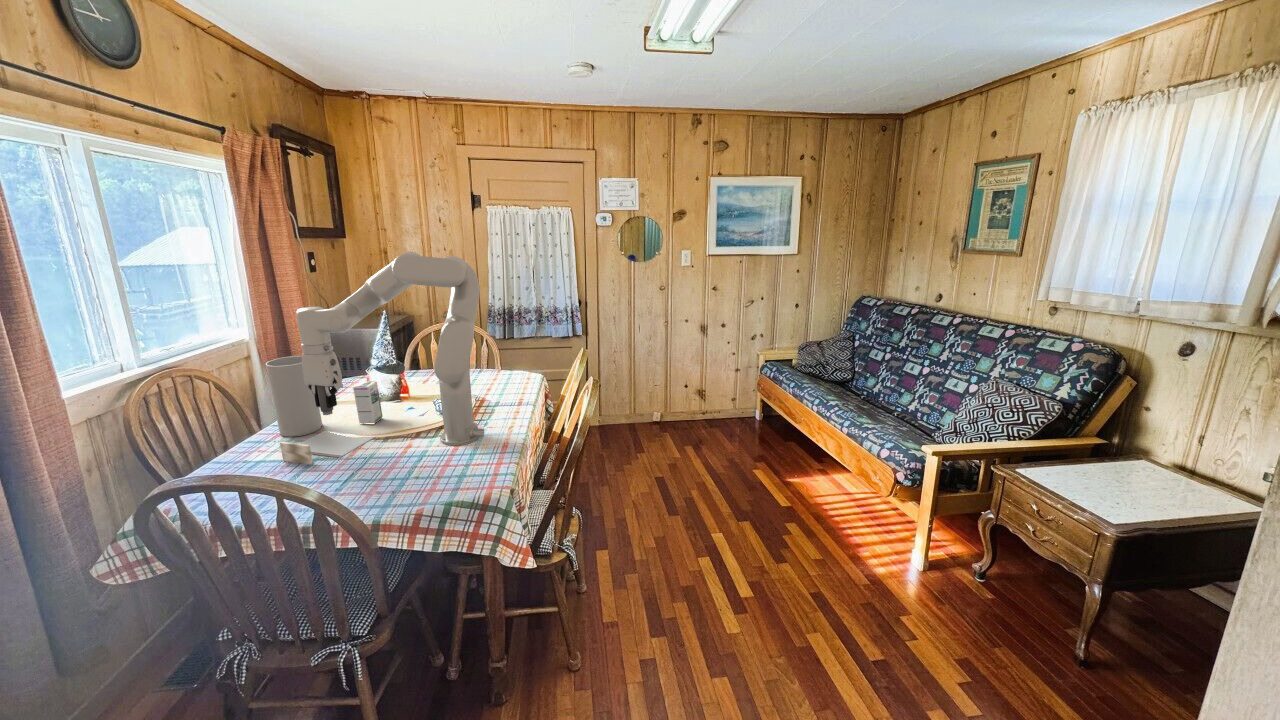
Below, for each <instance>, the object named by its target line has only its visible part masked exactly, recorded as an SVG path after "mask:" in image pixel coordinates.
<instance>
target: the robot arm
mask: <svg viewBox="0 0 1280 720" xmlns="http://www.w3.org/2000/svg"><path fill="white" fill-rule="evenodd" d="M413 285H416V286H425V287H437V288H438V287H439V288H451V291H450V297H449V301H448V302H449V305H448V310H447V315H446V318H445V321H444V323H443V325H442V326H441V328H440V329H441V330H440V334H439V339H438V345H437V350H436V355H435V361H434V363H433V364H434V365H433V372H434V374H435V376H436V378H437V379H438V381H439V383H438V385H439V394H440V404H441V413H442V421H443V428H444V429H443V430H444V432H443V433H441V435H440V438H439V440H440V442H441V443H442V444H443V445H444V444H445V445H446V446H447V445H448V446H461V445H466V444H470V443H473V442H475V441H477V440H478V439H479V438H481V437H482V438H483V437H484V436H485V428H481V427H478V423H476V422H475V421H474V419H475V418H474V410H473V400H472V399H473V397H472V387H471V374H470V373H471V372H470V371H471V370H470V359H471V353H472V348H473V345H474V344H473V343H474V337H475V323H476V319H477V313H478V307H479V301H480V292H481V291H480V289H481V288H480V287H481V286H480V282H479V278H478V275H477V273H476V271H475V270H474V268H473V267H472V266H471V265H470V264H469V263H468V262H467V261H466V260H465V259H463V258H462V257H460V256H456V255H448V256H445V257H434V256H424V255H420V254H419V253H417V252H413V251H406V252H404V253H401V254H399V255H398V256H396V257H395V258H394V259H393V260H392V261H391V262H390V263H389V264H387V265H386V266H384V267H382V268H381V269H380V270H379V271H377V272H376V273H375V274H373V275H372V276H370V277H369V278H368V279H367V280H366V281H365V282H364V284H363V285H362V286H361V287H360V288H358V290H357V291H355V292H353V294H351V295H349V296H348V297H347V298H346V299H344V300H343V301H341V302H340V303H339V304H336V305H334V307H330V308H326V309H325V308H323V307H322V306H305V307H301V308H298V309H297V310H296V322H297V327H298V331H299V333H298V334H299V339H300V343H301V350H302V354H301V356H302V370H303V377H304V382H303V384H304V385H306V386H307V387H309V389H310V390H311V391H312V394H313V395H314V396H315V402H316V407H319V408H320V404H319V397H318V391H317V385H319V386H325V390H326V393H327V396H326V403H327V408H332V407H333V408H334V407H337V405H338V401H337V397H336V396H337V395H336V394H337V393H338V391H339V390H340V389H341V388H343V387H344V384H343V376H342V371H341V366H340V363H339V359H338V357H337V354H336V353H335V351H333V350H334V346H333V345H332V339H331V333H332V334H343V333H347V332H348V331H349V330H351V329H352V328H353V327H354V326H356V325H357V324H358V323H359V322H360V321H362V320H363V319H365V318H366V317H368V315H370V314H371V313H372V312H373V311H376V310H377V309H378V308H380V307H381V306H383V305H385V304H387V303H389V302H391V301H392V300H393V299H395V298H396V297H398V296H399V295H400V294H402V293H403V292H404V291H405V290H407V289H408V288H410V287H411V286H413Z"/></svg>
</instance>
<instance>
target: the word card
mask: <svg viewBox="0 0 1280 720" xmlns="http://www.w3.org/2000/svg"><path fill="white" fill-rule="evenodd" d="M279 445H280V450H281V455H282V461H283V462H288V461H289V463H297V464H303V465H304V464H305V465H312V464H314V463H313V462H314V460H313V457H312V456H313V455H312V454H311V449H310V445H305V444H300V443H295V442H289V441H287V442H286V441H281V442H279Z"/></svg>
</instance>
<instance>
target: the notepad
mask: <svg viewBox="0 0 1280 720" xmlns="http://www.w3.org/2000/svg"><path fill="white" fill-rule="evenodd" d="M328 431H329V430H324V431H323V432H320V433H318V434H316V435H314V436H312V437H310V438H308V439H306V440H304V441H302V442H299V444H305V445H310V449H311V454H312V456H316V457H317V456H319V457H325V458H327V457H328V458H335V459H340V458H342V457H343V456H345V455H347V454H349V453H351V452H352V451H354V450H355V449H358V448H359V447H361V446H363V445H365V444H366V443H368V442H370V441H372V440H373V439H375V438H374V437H365V438H350V437H344V436H341V435H337V434H334V433H330V432H328Z"/></svg>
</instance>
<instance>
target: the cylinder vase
mask: <svg viewBox="0 0 1280 720" xmlns="http://www.w3.org/2000/svg"><path fill="white" fill-rule="evenodd" d="M265 368H266V372H267V377H268V382H269V383H268V384H269V387H270V391H271V397H272V402H273V406H274V407H273V408H274V411H275V412H274V413H275V416H276V417H275V418H276V420H277V426H278V430H279V431H278V432H279V433H280V435H281V436H284V437H289V438H293V437H295V438H296V437H302V436H306V435H310V434H313V433H315V432H317V431H319V430H320V429H321V428H322V427H323V420H322V414H321V410H320V407H316V402H315V396H314V395H313V394H312V391H311V390H310V389H309V387H307V386H306V385H304V384H303V382H304V377H303V370H302V355H293V356H291V355H290V356H284V357H283V356H282V357H278V358H275V359H272V360H269V361H266V362H265ZM321 426H322V427H321Z"/></svg>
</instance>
